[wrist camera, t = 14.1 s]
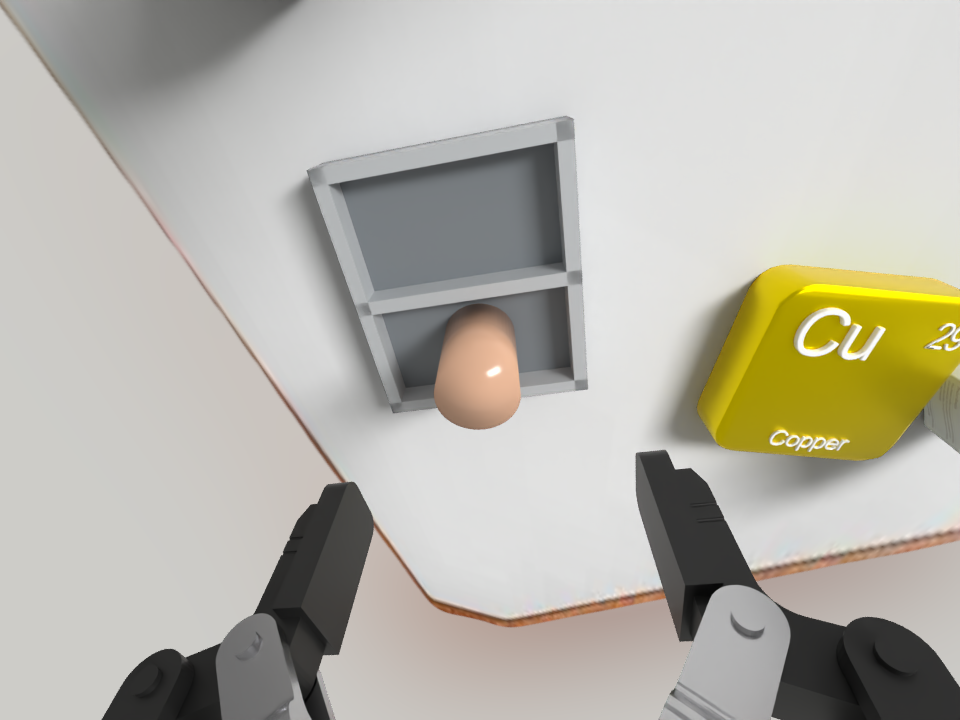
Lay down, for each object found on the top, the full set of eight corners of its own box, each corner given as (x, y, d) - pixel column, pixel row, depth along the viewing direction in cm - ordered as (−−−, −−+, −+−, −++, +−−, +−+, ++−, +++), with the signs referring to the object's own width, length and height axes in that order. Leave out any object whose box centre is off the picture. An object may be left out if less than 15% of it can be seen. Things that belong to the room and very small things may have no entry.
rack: (566, 115, 27) (573, 118, 25) (581, 368, 37) (587, 389, 34) (322, 162, 29) (306, 170, 26) (399, 391, 39) (393, 413, 36)
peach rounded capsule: (510, 298, 33) (514, 353, 26) (519, 360, 36) (525, 424, 29) (438, 309, 33) (424, 365, 26) (453, 368, 36) (444, 433, 29)
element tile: (687, 417, 40) (710, 454, 36) (758, 259, 32) (796, 284, 28) (846, 430, 40) (886, 469, 36) (954, 278, 33) (1020, 306, 28)
